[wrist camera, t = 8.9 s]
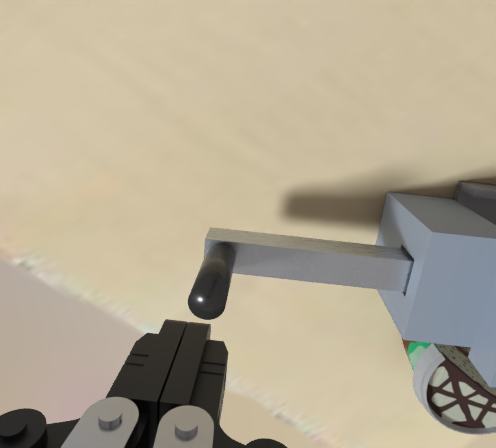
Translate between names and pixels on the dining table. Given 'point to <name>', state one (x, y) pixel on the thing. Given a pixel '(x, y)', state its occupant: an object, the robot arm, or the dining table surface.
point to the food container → (452, 387)
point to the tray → (478, 198)
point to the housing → (444, 275)
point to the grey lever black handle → (292, 265)
